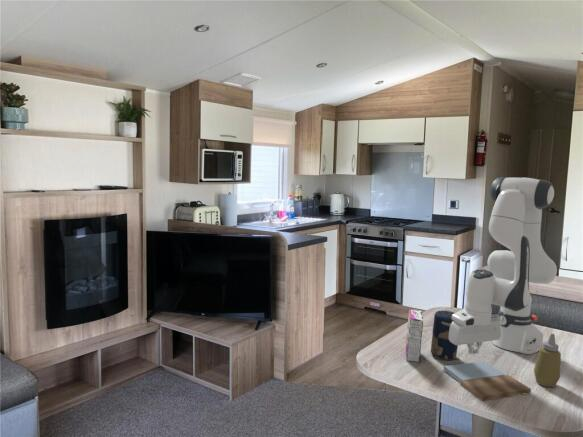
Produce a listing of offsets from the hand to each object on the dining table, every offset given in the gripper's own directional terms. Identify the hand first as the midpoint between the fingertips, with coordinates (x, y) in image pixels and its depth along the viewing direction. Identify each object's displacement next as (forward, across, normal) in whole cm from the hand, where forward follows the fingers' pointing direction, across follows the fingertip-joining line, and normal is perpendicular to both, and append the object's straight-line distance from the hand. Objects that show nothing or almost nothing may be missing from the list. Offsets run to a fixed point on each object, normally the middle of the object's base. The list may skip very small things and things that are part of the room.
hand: (473, 353), depth 168 cm
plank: (+7, +1, +2) cm, 7 cm away
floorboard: (+7, +1, +12) cm, 14 cm away
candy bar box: (+7, +14, -16) cm, 23 cm away
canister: (+7, +2, -14) cm, 16 cm away
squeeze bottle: (+8, -20, +13) cm, 25 cm away
